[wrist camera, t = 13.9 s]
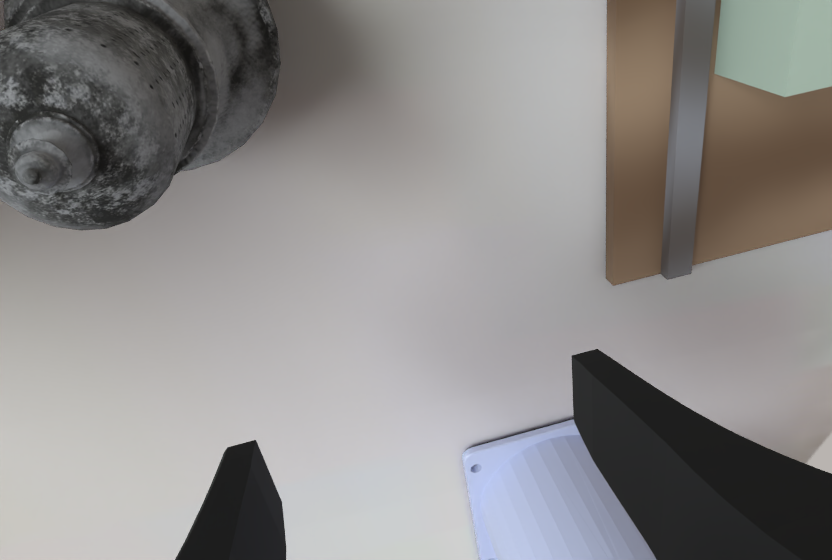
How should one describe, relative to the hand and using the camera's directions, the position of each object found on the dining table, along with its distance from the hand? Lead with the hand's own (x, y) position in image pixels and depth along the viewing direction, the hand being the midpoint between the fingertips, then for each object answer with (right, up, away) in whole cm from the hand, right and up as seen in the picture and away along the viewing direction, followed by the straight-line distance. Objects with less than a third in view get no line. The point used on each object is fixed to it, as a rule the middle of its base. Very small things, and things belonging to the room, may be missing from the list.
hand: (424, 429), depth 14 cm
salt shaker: (-7, +10, +4) cm, 13 cm away
